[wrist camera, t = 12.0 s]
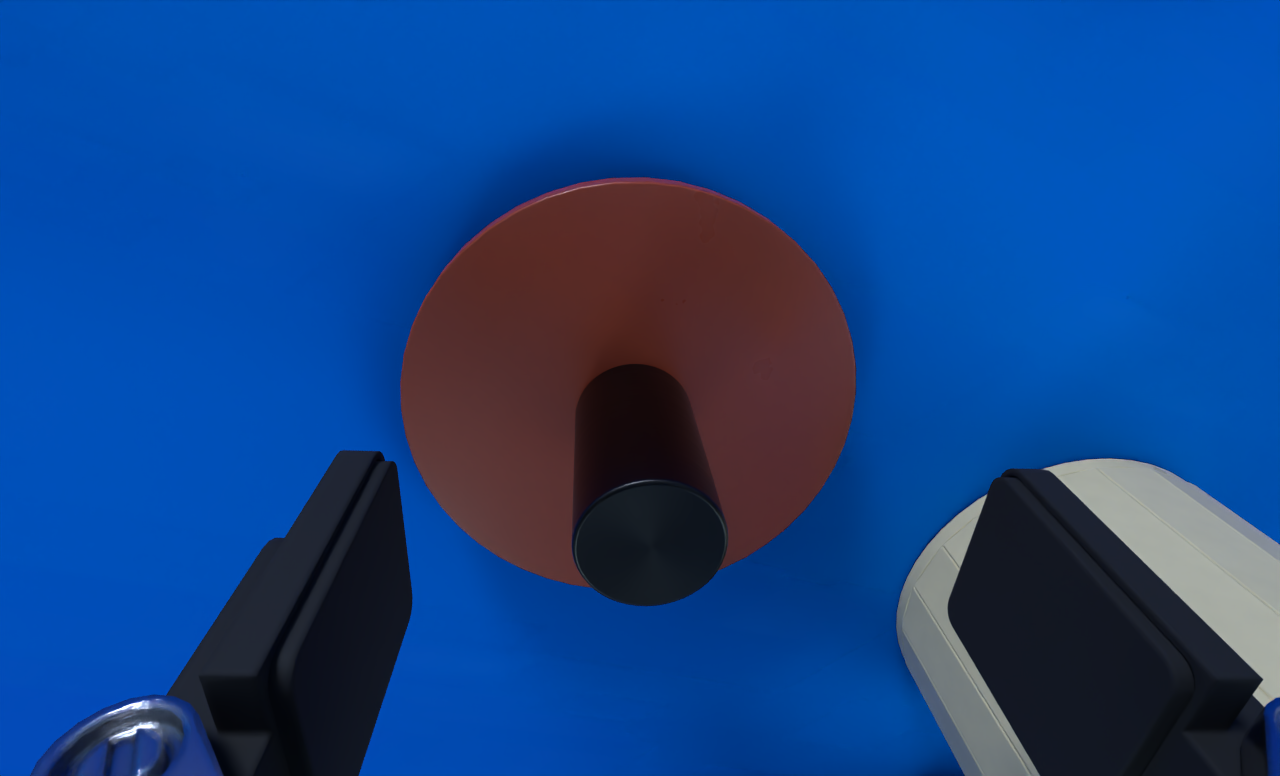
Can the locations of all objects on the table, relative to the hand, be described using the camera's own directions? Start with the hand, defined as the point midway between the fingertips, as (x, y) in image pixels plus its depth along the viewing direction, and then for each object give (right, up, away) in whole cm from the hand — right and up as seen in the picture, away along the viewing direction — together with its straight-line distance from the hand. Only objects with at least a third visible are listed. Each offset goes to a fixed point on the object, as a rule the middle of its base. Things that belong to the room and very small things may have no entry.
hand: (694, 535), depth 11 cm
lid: (-1, +2, +6) cm, 7 cm away
